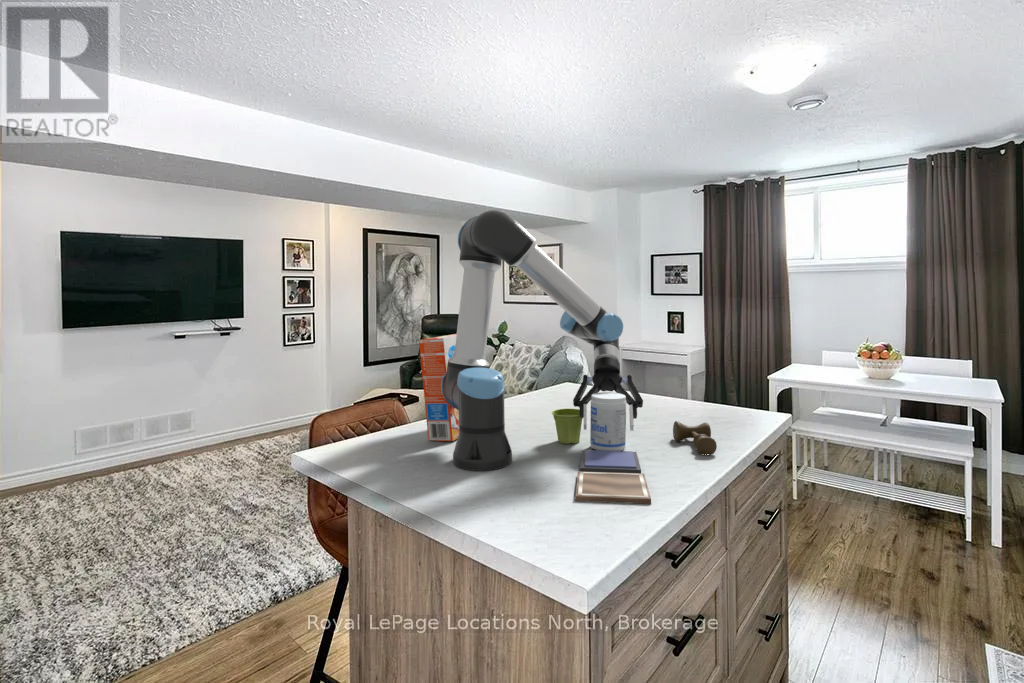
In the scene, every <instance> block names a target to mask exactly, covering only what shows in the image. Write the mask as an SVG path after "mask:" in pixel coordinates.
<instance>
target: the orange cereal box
mask: <svg viewBox="0 0 1024 683" xmlns="http://www.w3.org/2000/svg"><path fill="white" fill-rule="evenodd" d="M456 335H457V333H453V334H448V335H447V334H446V335H441V336H436V337H429V338H422V339H419V340H418V346H419V355H420V365H421V375H422V384H423V385H422V386H423V396H424V408H425V419H426V428H427V438H428V439H427V440H428V441H429V440H436V441H435V442H453V441H455V440H456V441H457V439H458V435H459V410H457V409H456V408H453V407H452V406H450V405H449V403H448V402H447V401H446V400H445V398H444V396H443V394H442V390H441V382H442V379H443V377H444V375H445V374H446V372H447V366H448V360H449V359H450V358H451V357H453V355H454V353H455V344H456Z"/></svg>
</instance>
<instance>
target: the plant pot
mask: <svg viewBox="0 0 1024 683" xmlns="http://www.w3.org/2000/svg"><path fill="white" fill-rule="evenodd" d="M579 413H580V408H558V409H555V410H552V411H551V414H552V415H553V419H554V424H555V429H556V436H557V442H559V443H560V444H563V443H565V444H564V445H570V444H578V443H579V442H580V438H581V432H582V425H583V424H582V423H583V420H584V418H580V414H579Z"/></svg>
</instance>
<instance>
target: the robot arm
mask: <svg viewBox="0 0 1024 683" xmlns="http://www.w3.org/2000/svg"><path fill="white" fill-rule="evenodd" d="M457 245H458V248H459V250H460V252H459V264H460V265H461V267H462V268H463V275H462V284H461V292H460V302H459V310H458V319H457V329H456V334H457V335H456V344H455V353H454V355H453V357H451V358H450V359H449V360H448V366H447V372H446V374H445V375H444V377H443V379H442V382H441V390H442V394H443V396H444V398H445V400H446V401H447V402H448V403H449V405H450V406H452V407H453V408H456V409H457V410H459V435H458V439H456V443H455V445H454V449H453V453H452V463H453V466H455V467H457V468H459V469H463V470H467V471H491V470H492V471H493V470H497V469H502V468H505V467H508V466H509V465H510V464H511V463H512V462H513V451H512V448H511V445H510V441H509V440H508V436H507V433H506V428H505V427H506V426H505V425H506V424H505V423H506V422H505V420H506V419H505V416H506V415H505V388H506V386H505V383H504V376H503V374H502V372H500V371H499V370H497V369H494V368H490V363H489V362H488V361H487V360H486V353H487V343H488V342H487V341H488V335H489V334H488V333H489V325H490V319H491V309H492V308H491V307H492V301H493V300H492V299H493V292H494V283H495V273H496V272H497V271H498V270H500V268H502V263H503V262H505V263H506V264H507V265H508V266H509V267H516V268H517V269H518V270H520V271H521V272H522V273H523V274H524V275H525V276H526V277H527V278H528V279H529V280H530V281H532V283H534V284H535V285H536V286H537V287H538V288H539V289H540V290H542V292H544V293H545V294H546V295H547V296H548V297H549V298H550V299H551V300H552V301H554V302H555V303H556V304H557V305H558V306H559V307H560V308H561V309H562V310H563V311H564V312H563V314H562V316H561V317H560V320H559V326H560V328H561V329H562V331H564V332H566V333H567V334H570V335H572V336H574V337H576V338H578V339H579V340H582V341H584V342H586V343H587V344H590V345H592V346H593V376H588V375H587V374H583V376H582V381H581V384H580V386H579V388H578V389H577V391H576V394H575V396H574V397H573V400H572V404H573V407H578V409H580V413H579V414H580V418H583V430H584V431H585V430H587V427H588V426H587V425H588V424H587V423H588V422H587V418H588V417H587V416H588V415H587V412H588V410H587V408H588V407H587V405H588V404H589V403H590V402H591V396H592V394H595V393H600V391H601V392H614V393H619V394H623V395H625V396H626V405H628V406H629V407H628V408H629V409H628V412H629V413H628V414H629V431H634V426H635V424H634V419H637V418H638V408H643V407H644V406H643V405H644V399H643V398H642V396H641V395H640V393H639V391H638V389H637V387H636V386H635V384H634V382H633V377H632V375H631V374H628V375H627V376H622V375H621V364H620V337H621V335H622V333H623V330H624V323H623V320H622V318H621V317H620V316H619V315H617V314H615V313H612V312H607V310H605V308H603V307H602V306H601V305H600V304H599V303H598V302H597V301H596V300H595V299H594V298H592V297H591V296H590V295H589V294H588V292H586V291H585V290H584V289H583V288H582V287H581V286H580V285H579V284H578V283H577V282H575V280H574V279H573V278H571V277H570V276H569V274H567V273H566V272H565V271H564V270H563V269H562V268H561V267H560V266H559V265H558V264H557V263H556V262H555V261H554V260H553V259H552V258H550V256H548V255H547V253H545V251H543V250H542V249H541V247H539V246H538V245H537V244H536V238H535V237H534V235H532V234H531V233H530V232H529V231H528V230H527V229H526V227H524V226H523V225H522V224H521V223H520V222H518V221H517V220H516V219H514V218H513V216H511V215H509V214H507V213H505V212H504V211H502V210H501V211H500V210H494V209H493V210H487V211H483V212H482V213H480V214H479V215H476V216H473V217H471V218H469V219H468V220H467V221H465V222H464V223H463V225H462V226H461V228H460V230H459V232H458V235H457ZM590 383H593V386H592V387H591V388H590V389H589V390H588V392H587V393H586V394H585V392H586V390H587V388H588V386H589V385H590ZM622 383H624V385H625V386H627V389H628V390H629V392H630V394H631V395H630V394H629V392H628V391H627V390H626V389H625V388H624V387H623V386H622ZM584 394H585V395H584ZM583 395H584V396H583Z"/></svg>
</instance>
